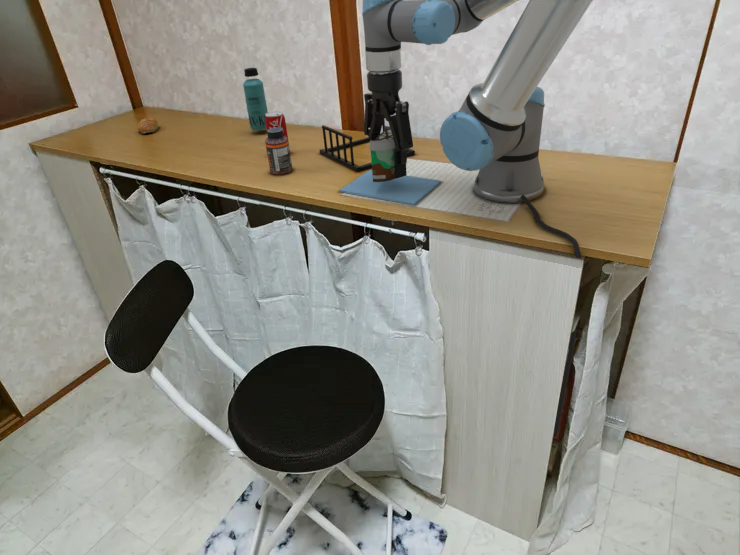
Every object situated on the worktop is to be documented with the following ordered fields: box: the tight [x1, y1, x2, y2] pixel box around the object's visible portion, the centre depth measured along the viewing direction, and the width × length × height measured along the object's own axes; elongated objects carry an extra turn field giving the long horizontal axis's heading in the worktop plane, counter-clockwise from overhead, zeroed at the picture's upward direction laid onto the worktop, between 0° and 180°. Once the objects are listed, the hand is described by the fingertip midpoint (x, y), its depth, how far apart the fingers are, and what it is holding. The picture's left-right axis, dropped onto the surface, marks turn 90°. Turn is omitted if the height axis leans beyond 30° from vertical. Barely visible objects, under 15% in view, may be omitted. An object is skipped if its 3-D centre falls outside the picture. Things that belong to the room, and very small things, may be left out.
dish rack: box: [319, 116, 416, 173], centre depth 146 cm, size 20×19×8 cm
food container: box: [369, 125, 401, 182], centre depth 123 cm, size 12×6×10 cm, turn 162°
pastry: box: [137, 116, 159, 135], centre depth 184 cm, size 9×7×4 cm
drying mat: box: [339, 169, 441, 206], centre depth 127 cm, size 20×14×1 cm
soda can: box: [265, 110, 291, 151], centre depth 150 cm, size 6×6×12 cm
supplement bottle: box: [264, 128, 293, 176], centre depth 138 cm, size 6×6×11 cm
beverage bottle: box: [242, 67, 269, 132], centre depth 168 cm, size 6×7×20 cm
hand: (389, 171), depth 125 cm, fingers closed on food container, 9 cm apart
